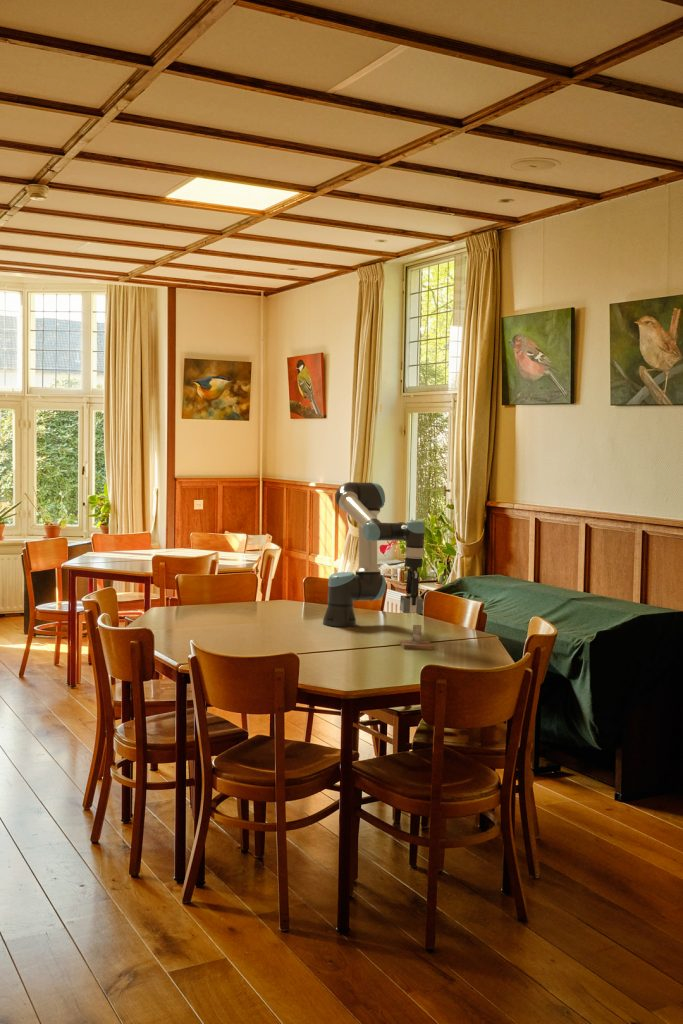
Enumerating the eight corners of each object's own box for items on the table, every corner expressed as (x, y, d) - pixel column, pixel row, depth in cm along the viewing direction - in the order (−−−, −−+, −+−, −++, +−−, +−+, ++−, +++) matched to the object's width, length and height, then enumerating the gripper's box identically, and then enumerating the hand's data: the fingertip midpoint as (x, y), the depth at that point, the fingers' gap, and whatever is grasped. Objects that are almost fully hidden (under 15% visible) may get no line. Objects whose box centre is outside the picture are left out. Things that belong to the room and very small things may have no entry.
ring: (399, 609, 426) (400, 595, 425) (418, 610, 427) (419, 596, 426) (403, 612, 418) (403, 598, 417) (421, 613, 419) (422, 599, 418)
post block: (399, 643, 414) (400, 622, 413) (427, 643, 415) (428, 623, 415) (404, 649, 402) (405, 628, 402) (433, 649, 404) (434, 628, 403)
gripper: (400, 553, 430) (397, 606, 432) (409, 560, 410) (406, 615, 411) (418, 554, 431) (415, 606, 433) (427, 561, 411) (424, 615, 412)
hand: (410, 610), depth 422 cm, fingers closed on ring, 8 cm apart
